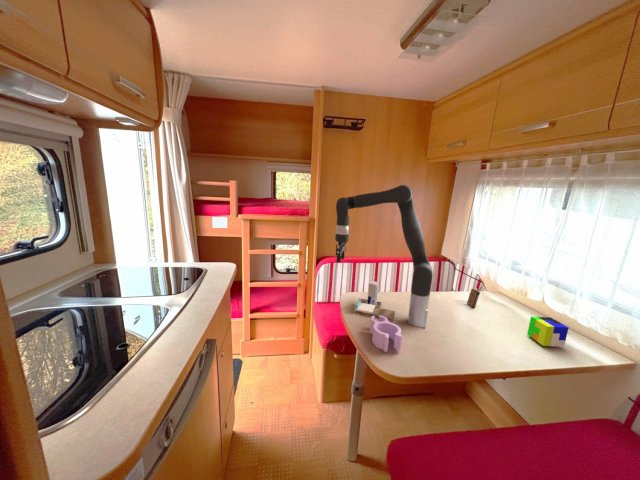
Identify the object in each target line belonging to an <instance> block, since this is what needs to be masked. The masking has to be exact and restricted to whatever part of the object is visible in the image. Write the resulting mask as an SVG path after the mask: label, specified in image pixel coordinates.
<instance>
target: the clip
mask: <svg viewBox="0 0 640 480" xmlns="http://www.w3.org/2000/svg"><path fill="white" fill-rule="evenodd" d="M369 324H370V325H369V332H370V334H371V335H372V344H374V345H375V346H376V347H377V348H380V349H383V352H384V353H385V352H386V353H387V352H388V349H389V339H392V340H393V349H395V350H396V351H399V352H401V350H402V344H403V343H402V341H403V335H402V329H401V327H400V326H399V325H397V324H396V323H393V322H391V321H390V320H388V319H387V318H386V317H384V316H381V315H379V318H378V320H376V317H375V316H370V322H369Z"/></svg>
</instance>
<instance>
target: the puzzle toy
mask: <svg viewBox="0 0 640 480" xmlns="http://www.w3.org/2000/svg"><path fill="white" fill-rule="evenodd" d="M528 325H529V326H528V329H527V333H526V334H527V336H529V337H530V338H531V339H533V340H534V341H536V342H537V343H538V344H539V345H541V346H544V347H559V348H564V347H565V345H566V340H567V335H568V331H569V326H567V325H565V324H563V323H561V322H560V321H558V320H556V319H554V318H553V317H549V316H548V317H546V316H530V319H529V324H528Z"/></svg>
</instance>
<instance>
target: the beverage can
mask: <svg viewBox="0 0 640 480" xmlns="http://www.w3.org/2000/svg"><path fill="white" fill-rule="evenodd" d="M378 294H379V282H377V281H372V280H371V281H369V284H368V292H367V300H368V302H366V304H371V305H375V307H378V304H377V301H378Z"/></svg>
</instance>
